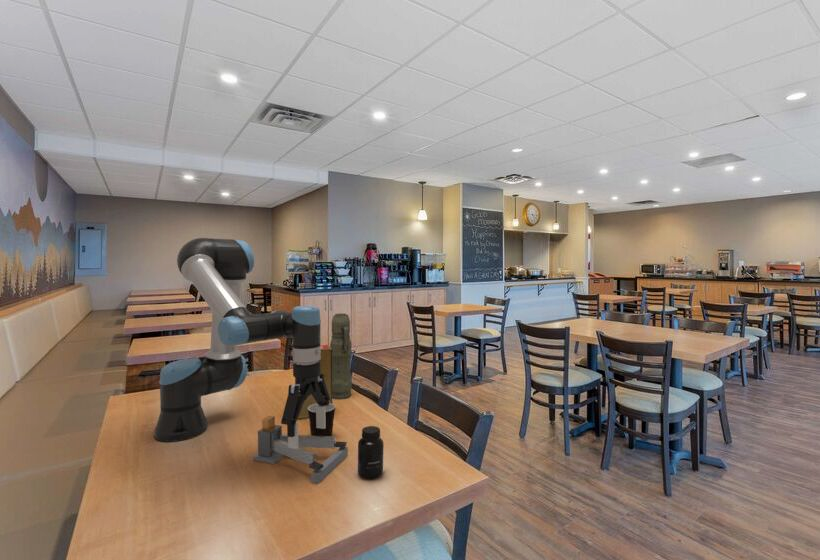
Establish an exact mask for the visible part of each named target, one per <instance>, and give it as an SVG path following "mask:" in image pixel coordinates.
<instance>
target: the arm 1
mask: <svg viewBox="0 0 820 560" xmlns="http://www.w3.org/2000/svg"><path fill="white" fill-rule="evenodd" d="M273 451H275V452H278V453H280V454H283V455H285V456H286V457H288V458H290V459H293V460H296V461H298V462H301V463H304V464H306V465H308V466H309V467H308V468H309V469H312V470H313V471H314V470H317V471H318V470H320V469H322V468H323V464H322V462H317V453H316V452H314V451H311V450H309V449H305V448H304V447H299V448H298V449H294V448H288V443H287V442H284V441H282V440H279V439H274V440H273ZM285 456H284V457H285Z"/></svg>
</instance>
